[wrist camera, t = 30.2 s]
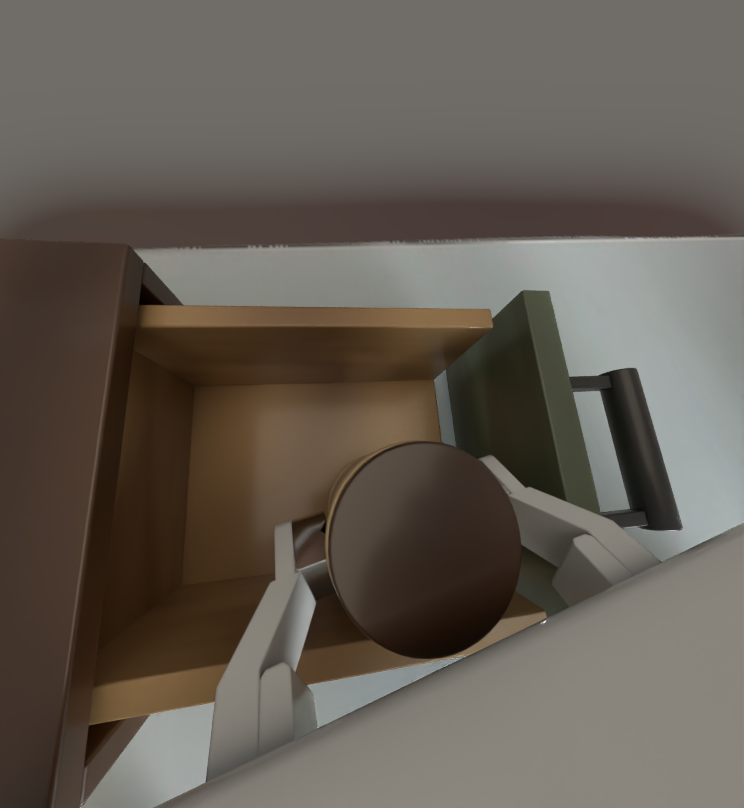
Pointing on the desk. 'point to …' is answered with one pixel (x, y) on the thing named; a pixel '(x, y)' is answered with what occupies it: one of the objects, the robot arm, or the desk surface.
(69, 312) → the cabinet
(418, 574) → the banded brown cylinder
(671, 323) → the desk surface
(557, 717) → the robot arm
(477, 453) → the drawer
